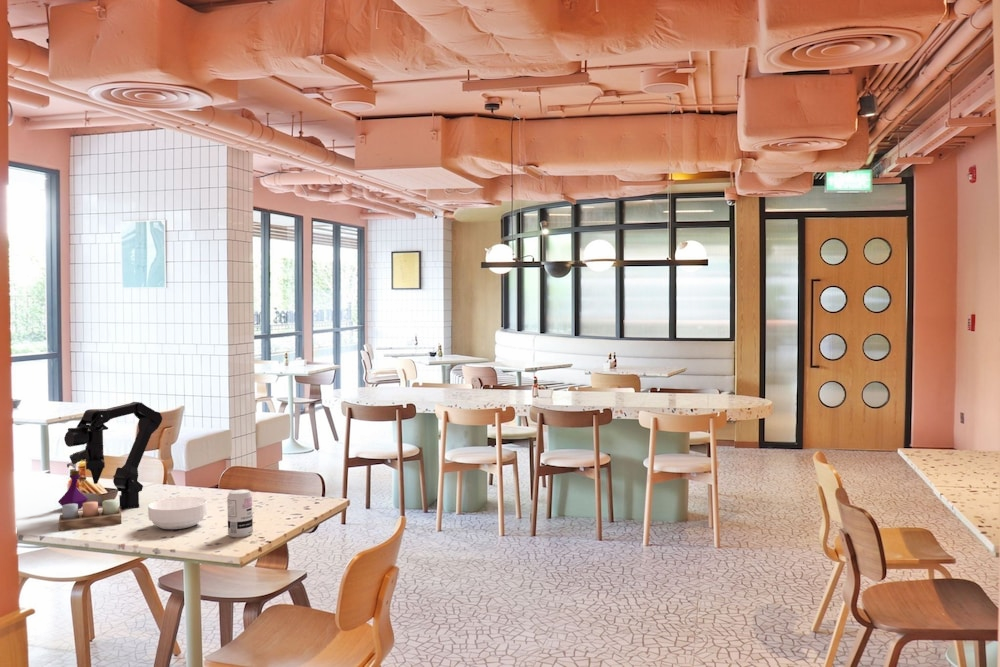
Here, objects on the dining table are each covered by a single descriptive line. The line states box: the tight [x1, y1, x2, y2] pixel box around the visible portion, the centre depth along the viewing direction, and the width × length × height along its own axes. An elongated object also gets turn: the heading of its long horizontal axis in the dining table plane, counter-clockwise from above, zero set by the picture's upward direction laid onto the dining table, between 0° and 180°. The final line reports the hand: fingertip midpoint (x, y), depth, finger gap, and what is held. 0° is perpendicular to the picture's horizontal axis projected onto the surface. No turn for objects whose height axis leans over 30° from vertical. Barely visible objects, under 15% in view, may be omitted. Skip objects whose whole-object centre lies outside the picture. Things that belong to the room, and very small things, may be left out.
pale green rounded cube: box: [101, 498, 119, 515], centre depth 297 cm, size 5×5×5 cm
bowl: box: [147, 496, 208, 530], centre depth 289 cm, size 20×20×8 cm
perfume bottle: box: [58, 462, 89, 509], centre depth 316 cm, size 8×8×18 cm
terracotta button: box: [82, 500, 99, 517], centre depth 294 cm, size 5×5×5 cm
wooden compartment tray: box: [58, 507, 122, 531], centre depth 294 cm, size 20×12×3 cm, turn 117°
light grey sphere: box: [61, 503, 79, 520], centre depth 291 cm, size 5×5×5 cm
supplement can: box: [226, 488, 254, 538], centre depth 278 cm, size 8×8×15 cm
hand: (95, 483), depth 305 cm, fingers closed
